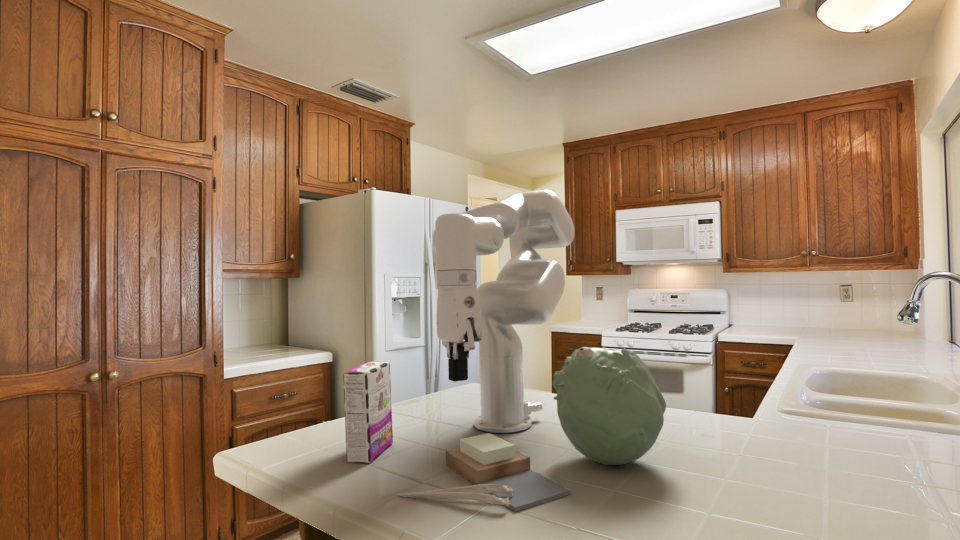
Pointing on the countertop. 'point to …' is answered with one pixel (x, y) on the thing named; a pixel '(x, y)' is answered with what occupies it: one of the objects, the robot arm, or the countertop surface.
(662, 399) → the cabbage
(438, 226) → the robot arm
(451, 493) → the tweezers
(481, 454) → the pale green sponge block
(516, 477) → the mat
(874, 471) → the countertop surface
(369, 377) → the candy bar box
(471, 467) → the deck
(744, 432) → the countertop surface
